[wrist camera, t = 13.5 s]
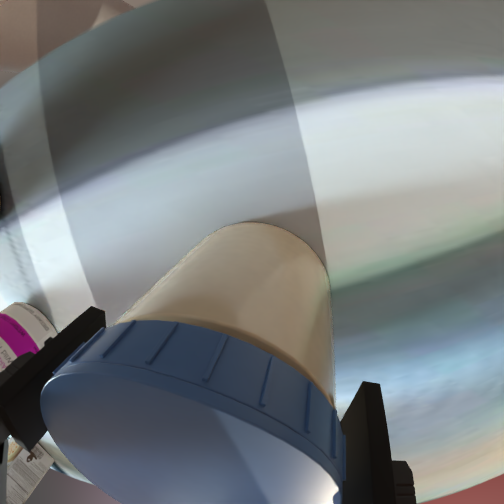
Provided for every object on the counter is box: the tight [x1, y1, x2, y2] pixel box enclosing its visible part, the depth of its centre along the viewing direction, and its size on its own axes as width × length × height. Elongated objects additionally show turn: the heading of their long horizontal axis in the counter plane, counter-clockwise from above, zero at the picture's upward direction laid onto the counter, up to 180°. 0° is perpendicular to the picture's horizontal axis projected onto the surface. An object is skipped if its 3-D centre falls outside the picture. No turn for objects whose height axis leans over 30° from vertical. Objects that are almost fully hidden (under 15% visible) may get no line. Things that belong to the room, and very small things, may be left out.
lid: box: [40, 320, 346, 504], centre depth 8 cm, size 10×10×2 cm
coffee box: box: [7, 437, 54, 504], centre depth 31 cm, size 9×6×16 cm
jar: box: [114, 222, 336, 409], centre depth 13 cm, size 9×9×12 cm
